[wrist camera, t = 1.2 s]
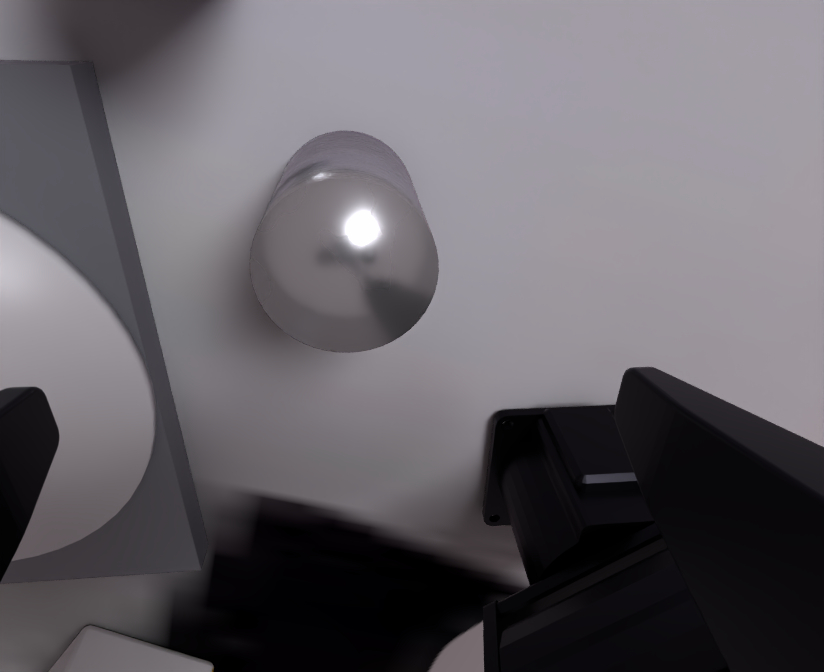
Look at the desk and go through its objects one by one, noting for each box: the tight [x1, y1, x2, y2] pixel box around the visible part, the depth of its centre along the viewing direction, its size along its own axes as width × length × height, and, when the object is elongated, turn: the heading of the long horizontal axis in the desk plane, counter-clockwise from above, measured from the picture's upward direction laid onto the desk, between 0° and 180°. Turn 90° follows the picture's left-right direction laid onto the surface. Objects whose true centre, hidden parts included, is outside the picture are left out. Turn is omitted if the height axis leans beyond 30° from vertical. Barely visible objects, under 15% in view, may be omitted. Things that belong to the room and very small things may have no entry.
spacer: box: [250, 131, 439, 353], centre depth 15 cm, size 4×4×6 cm
